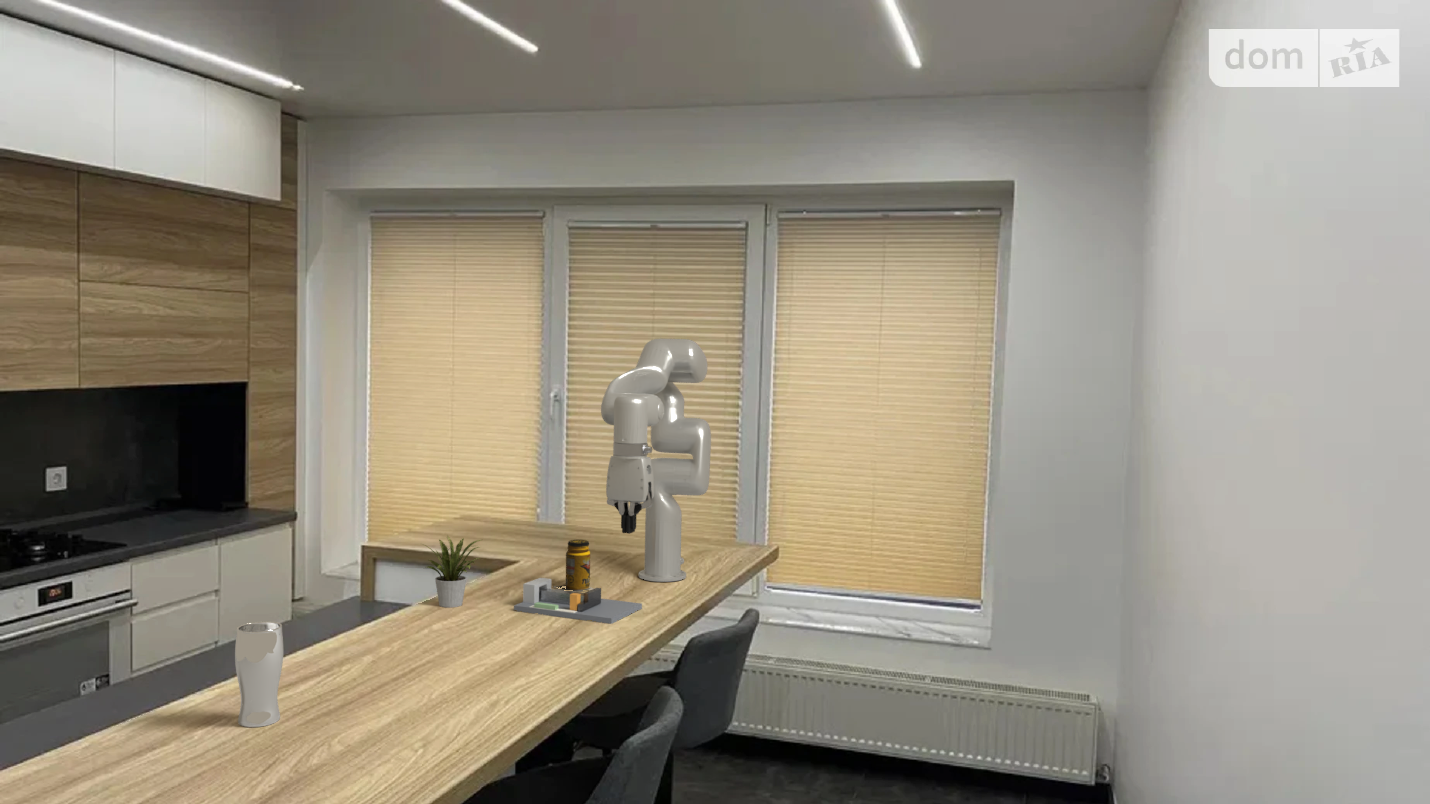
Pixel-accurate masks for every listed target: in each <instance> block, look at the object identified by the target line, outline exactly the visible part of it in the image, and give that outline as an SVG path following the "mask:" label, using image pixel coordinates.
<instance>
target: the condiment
mask: <svg viewBox="0 0 1430 804" xmlns="http://www.w3.org/2000/svg"><path fill="white" fill-rule="evenodd" d="M590 581H591V551H590V542H589V541H588V540H586V539H571V540H569V541H568V542H567V551H566V553H565V584H563V585H553V586H552V587H553V589H556V587H558V588H559V587H560V588H561V587H562V586H566V589H565V588H562V589H558V588H557V589H556V590H573V591H572V592H584V591H583V590H589V591H590V590H592V589H595V588H594V587H592V586H590V584H591V582H590ZM589 587H590V588H589Z"/></svg>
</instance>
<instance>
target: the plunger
mask: <svg viewBox="0 0 1430 804" xmlns="http://www.w3.org/2000/svg"><path fill="white" fill-rule="evenodd" d="M572 593H578V594H581V600H580V603H579V604H578V611H581V612H583V611H585V610H587V609H589V608H592V607H594V606H596V605H598V604H601V599H602V587H595V588H594V589H592V590H589V591H584V592H581V591H578V592H577V591H576V592H572V591H564V590H557V589H556V588H551V589H547V588H539V601H547V602H555V603H562V604H570V594H572Z"/></svg>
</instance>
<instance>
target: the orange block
mask: <svg viewBox="0 0 1430 804" xmlns="http://www.w3.org/2000/svg"><path fill="white" fill-rule="evenodd" d="M580 600H581V594H578V593H572V594H570V610H575V611H577V610H578V604H579V603H580Z"/></svg>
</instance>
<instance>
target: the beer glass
mask: <svg viewBox="0 0 1430 804" xmlns="http://www.w3.org/2000/svg"><path fill="white" fill-rule="evenodd" d="M283 638H284V637H283V624H282V623H280V622H277V621H269V620H267V621H254V622H248V623H244V624H240V625H239V626H237V627H236V635H235V645H234V646H235V647H234V649H235V650H234V662H235V663H234V665H235V672H236V678H237V682H238V687H239V693H240V708H239V713H238V719H237V723H238V725H239V726H242V727H244V728H259V727H260V728H261V727H266V726H267V727H268V726H270V725H273V724H275V723H277V722H279V721H280V719H281V714H280V709H279V703H278V700H279V699H278V696H279V695H278V694H279V693H278V692H279V686H280V680H281V674H282V670H283V663H284V662H283V661H284V639H283Z"/></svg>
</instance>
